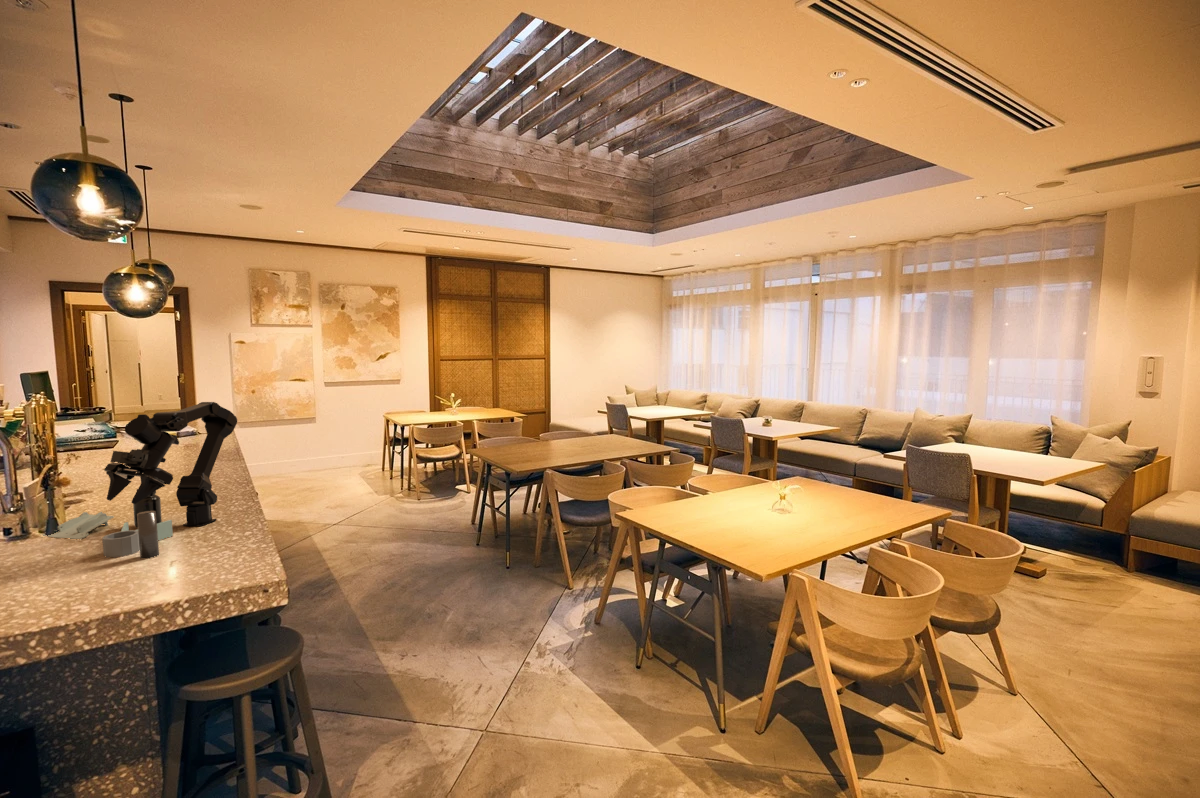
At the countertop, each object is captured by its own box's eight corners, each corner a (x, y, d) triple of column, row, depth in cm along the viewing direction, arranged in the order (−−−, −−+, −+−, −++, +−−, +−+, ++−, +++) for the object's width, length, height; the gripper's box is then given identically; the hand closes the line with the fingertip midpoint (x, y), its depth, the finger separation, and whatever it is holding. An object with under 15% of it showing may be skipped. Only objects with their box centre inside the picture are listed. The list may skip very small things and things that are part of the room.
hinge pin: (149, 553, 156) (146, 510, 155) (163, 553, 155) (159, 510, 154) (136, 558, 152) (132, 514, 151) (150, 559, 151) (146, 515, 150)
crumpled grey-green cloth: (82, 507, 181) (120, 510, 178) (89, 523, 183) (126, 525, 180) (32, 533, 168) (72, 537, 165) (41, 550, 170) (80, 553, 167)
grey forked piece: (136, 535, 171) (134, 519, 170) (176, 536, 170) (175, 520, 169) (78, 556, 153) (76, 538, 153) (122, 557, 152) (121, 539, 152)
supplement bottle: (144, 529, 176) (141, 491, 175) (129, 527, 178) (126, 490, 177) (167, 523, 182) (164, 486, 181) (152, 521, 185) (149, 485, 184)
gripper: (104, 435, 159) (68, 486, 151) (154, 440, 154) (119, 493, 146) (138, 453, 168) (106, 502, 160) (187, 458, 163) (155, 509, 156)
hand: (120, 501), depth 155 cm, fingers open, 9 cm apart
